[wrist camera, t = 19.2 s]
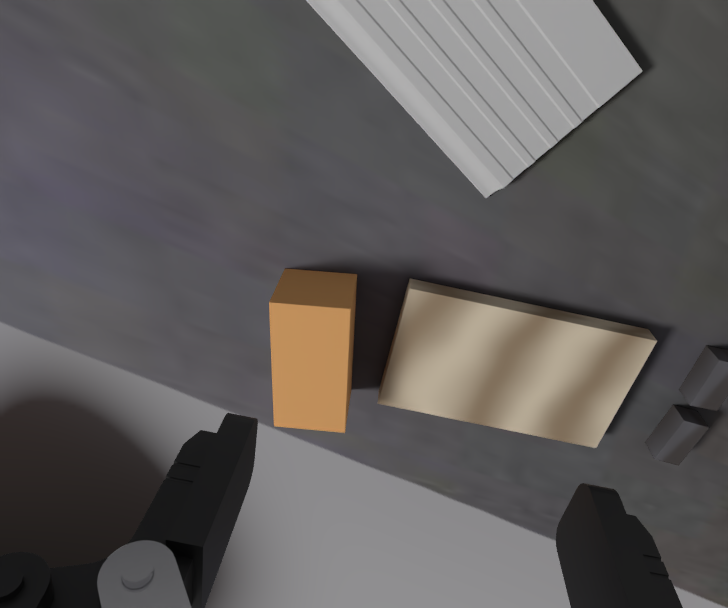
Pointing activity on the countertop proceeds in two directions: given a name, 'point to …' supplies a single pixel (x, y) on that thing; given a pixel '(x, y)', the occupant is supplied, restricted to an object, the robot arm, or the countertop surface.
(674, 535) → the countertop surface
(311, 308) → the block
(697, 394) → the charcoal stick
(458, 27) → the baseboard
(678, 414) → the charcoal stick
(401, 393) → the plywood board
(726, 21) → the countertop surface
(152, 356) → the countertop surface
